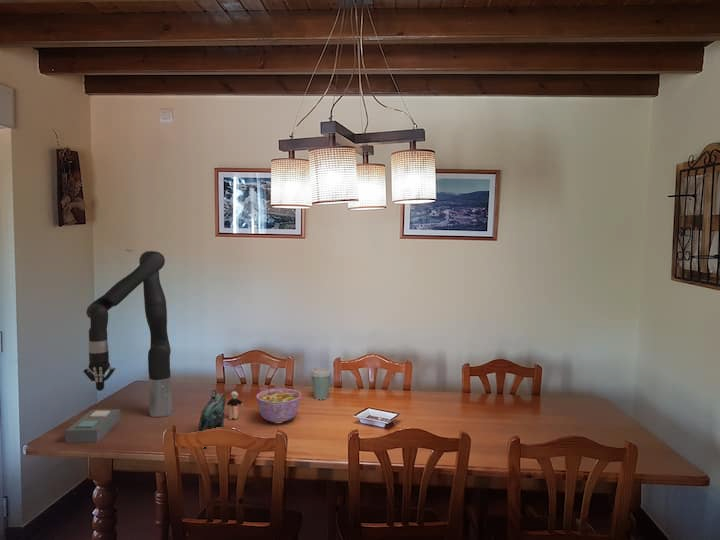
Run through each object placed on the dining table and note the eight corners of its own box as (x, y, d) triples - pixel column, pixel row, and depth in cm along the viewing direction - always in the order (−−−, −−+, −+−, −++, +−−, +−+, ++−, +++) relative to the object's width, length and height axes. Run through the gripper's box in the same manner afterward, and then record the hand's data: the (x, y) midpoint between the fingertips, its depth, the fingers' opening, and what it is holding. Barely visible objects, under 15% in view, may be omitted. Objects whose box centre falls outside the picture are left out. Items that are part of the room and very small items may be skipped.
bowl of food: (299, 411, 247) (299, 387, 246) (302, 427, 228) (302, 401, 227) (256, 413, 244) (256, 389, 243) (255, 429, 224) (255, 403, 223)
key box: (120, 420, 231) (119, 409, 231) (97, 442, 207) (96, 430, 207) (92, 420, 230) (91, 409, 230) (65, 442, 207) (65, 430, 206)
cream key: (110, 417, 228) (110, 410, 228) (104, 422, 222) (104, 415, 222) (96, 417, 227) (95, 410, 227) (90, 422, 221) (89, 415, 221)
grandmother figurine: (227, 421, 233) (227, 393, 232) (225, 418, 236) (225, 391, 235) (244, 418, 236) (244, 391, 235) (241, 416, 240) (241, 389, 239)
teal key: (98, 427, 216) (98, 420, 216) (92, 433, 210) (92, 426, 210) (83, 427, 216) (83, 420, 215) (77, 433, 210) (76, 426, 209)
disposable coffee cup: (335, 397, 269) (335, 369, 268) (322, 403, 260) (323, 373, 259) (318, 393, 274) (318, 366, 273) (305, 399, 265) (306, 370, 264)
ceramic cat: (214, 429, 223) (214, 384, 222) (229, 430, 223) (229, 384, 221) (195, 448, 203) (195, 398, 202) (211, 449, 203) (211, 399, 201)
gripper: (118, 348, 226) (119, 387, 228) (86, 348, 225) (88, 387, 227) (111, 352, 219) (112, 392, 220) (78, 352, 218) (80, 393, 219)
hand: (100, 390), depth 224 cm, fingers closed
